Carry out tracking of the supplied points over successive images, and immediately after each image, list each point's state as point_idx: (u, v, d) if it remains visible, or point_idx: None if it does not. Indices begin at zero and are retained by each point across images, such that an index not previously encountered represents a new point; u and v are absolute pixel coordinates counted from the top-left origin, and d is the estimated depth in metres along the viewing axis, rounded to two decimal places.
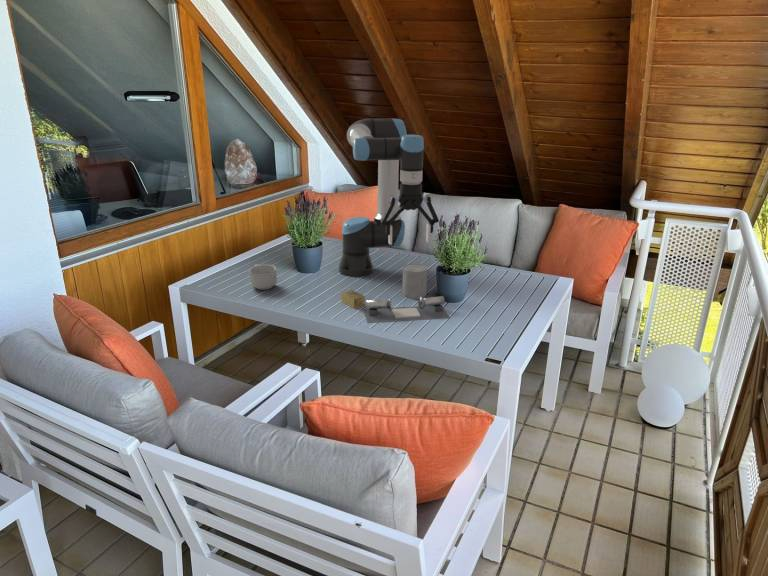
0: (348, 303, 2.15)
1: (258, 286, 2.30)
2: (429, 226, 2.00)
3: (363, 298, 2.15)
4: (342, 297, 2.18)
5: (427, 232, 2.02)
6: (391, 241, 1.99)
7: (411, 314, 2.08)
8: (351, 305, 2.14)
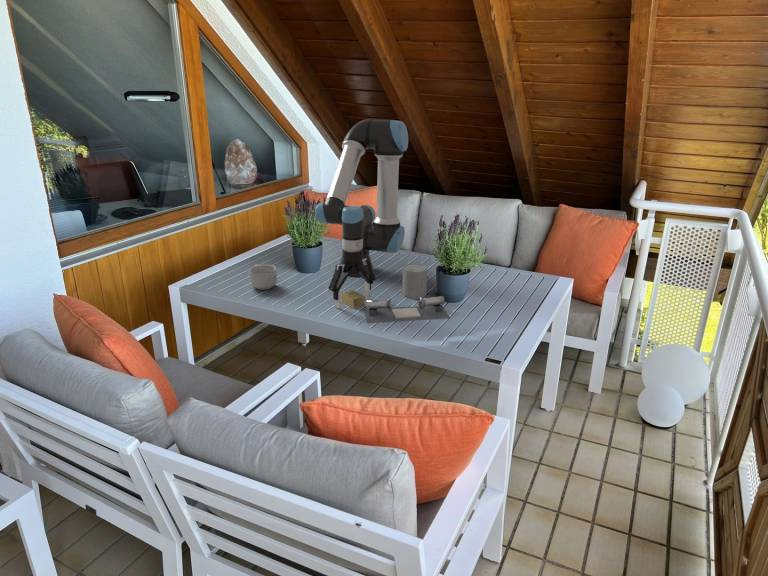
0: (348, 303, 2.16)
1: (258, 286, 2.30)
2: (369, 285, 2.18)
3: (363, 298, 2.15)
4: (342, 297, 2.18)
5: (366, 290, 2.20)
6: (340, 305, 2.12)
7: (411, 314, 2.08)
8: (351, 305, 2.14)
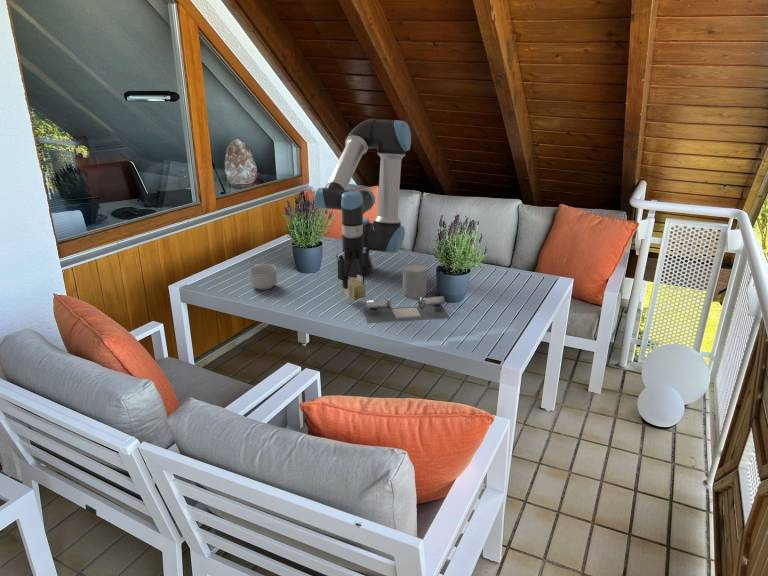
0: None
1: (258, 286, 2.30)
2: (361, 278, 2.16)
3: (364, 286, 2.14)
4: None
5: None
6: (349, 293, 2.14)
7: (411, 314, 2.08)
8: (351, 293, 2.13)
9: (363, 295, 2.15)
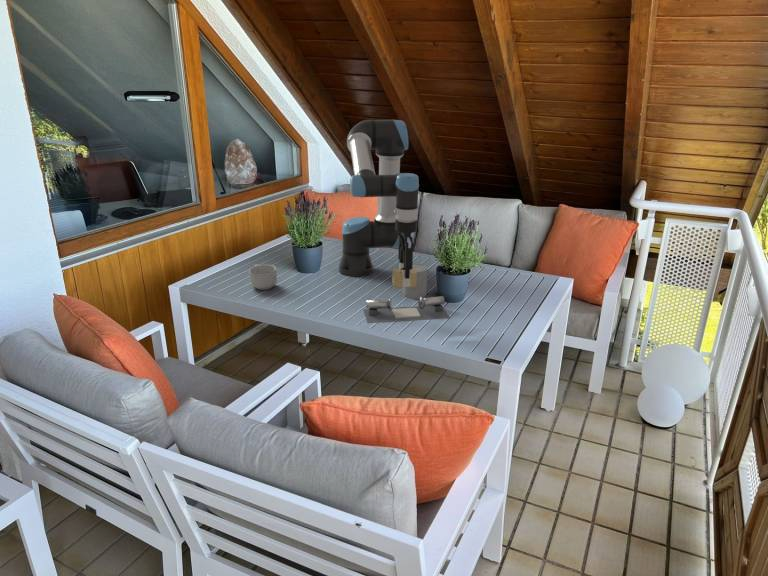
0: None
1: (258, 286, 2.30)
2: (403, 270, 2.00)
3: (393, 275, 2.02)
4: None
5: None
6: None
7: (411, 314, 2.08)
8: None
9: (393, 284, 2.03)
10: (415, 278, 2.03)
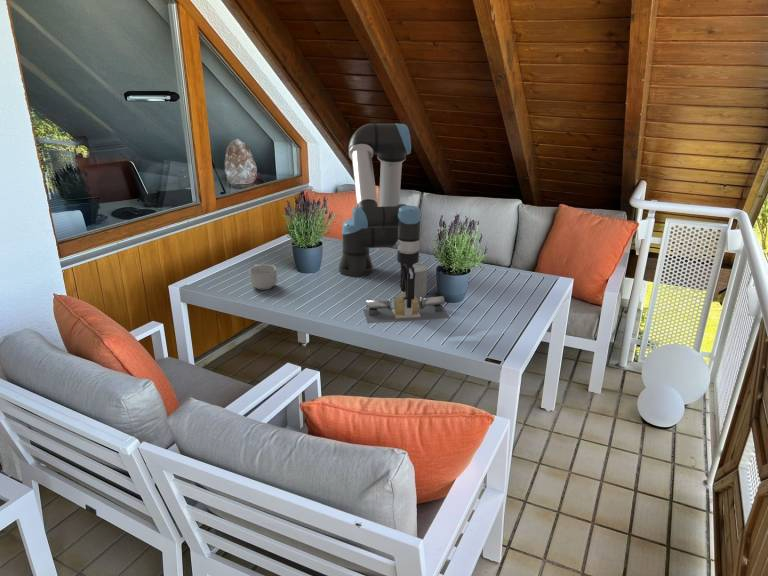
0: None
1: (258, 286, 2.30)
2: (405, 300, 2.04)
3: (395, 303, 2.06)
4: None
5: None
6: None
7: None
8: None
9: (395, 312, 2.07)
10: (417, 306, 2.06)
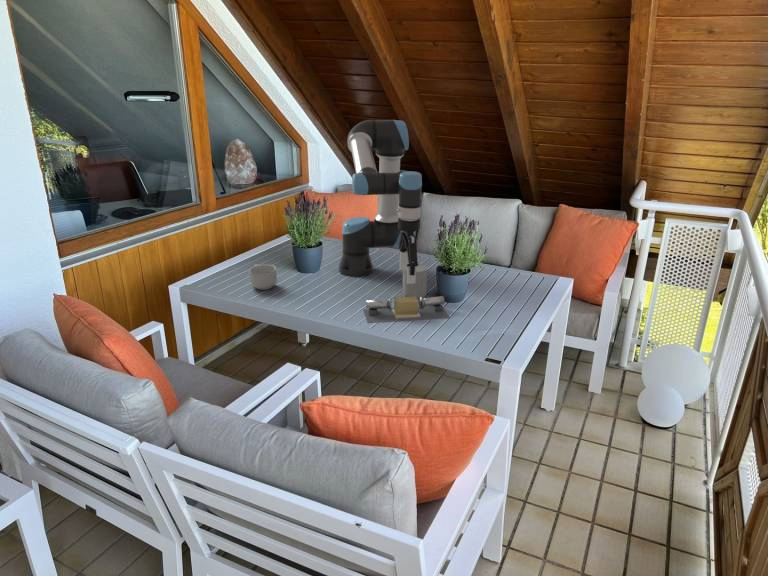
0: None
1: (258, 286, 2.30)
2: (408, 267, 1.96)
3: (395, 304, 2.06)
4: None
5: None
6: None
7: None
8: None
9: (395, 312, 2.07)
10: (417, 307, 2.06)
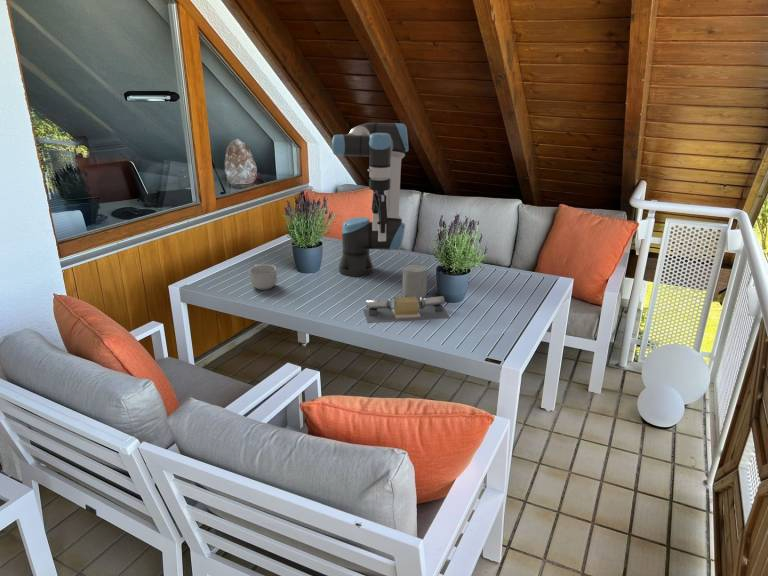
0: None
1: (258, 286, 2.30)
2: (378, 225, 2.04)
3: (395, 304, 2.06)
4: None
5: None
6: (372, 227, 2.18)
7: None
8: None
9: (395, 312, 2.07)
10: (417, 307, 2.06)
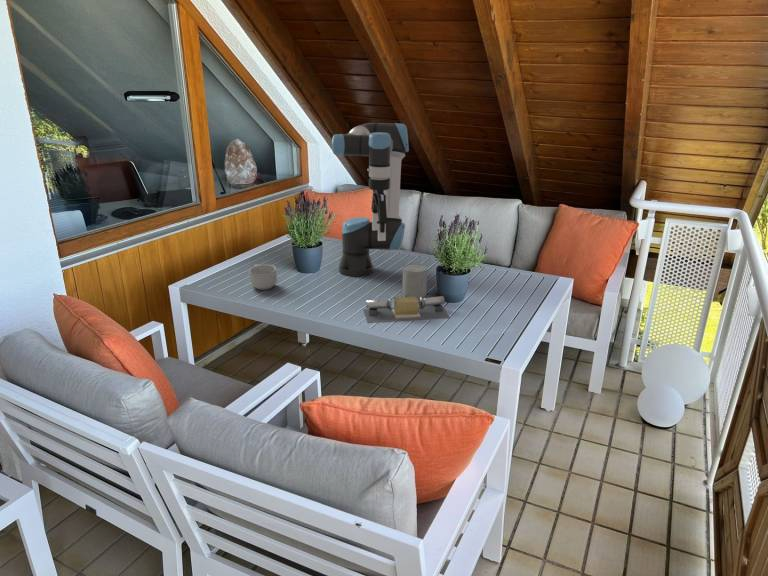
0: None
1: (258, 286, 2.30)
2: (378, 224, 2.04)
3: (395, 304, 2.06)
4: None
5: None
6: (372, 227, 2.18)
7: None
8: None
9: (395, 312, 2.07)
10: (417, 307, 2.06)
